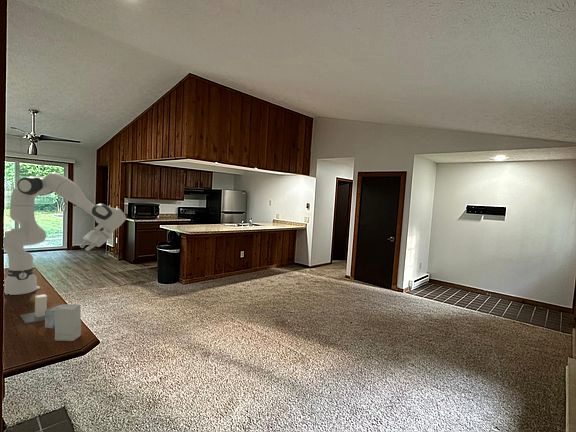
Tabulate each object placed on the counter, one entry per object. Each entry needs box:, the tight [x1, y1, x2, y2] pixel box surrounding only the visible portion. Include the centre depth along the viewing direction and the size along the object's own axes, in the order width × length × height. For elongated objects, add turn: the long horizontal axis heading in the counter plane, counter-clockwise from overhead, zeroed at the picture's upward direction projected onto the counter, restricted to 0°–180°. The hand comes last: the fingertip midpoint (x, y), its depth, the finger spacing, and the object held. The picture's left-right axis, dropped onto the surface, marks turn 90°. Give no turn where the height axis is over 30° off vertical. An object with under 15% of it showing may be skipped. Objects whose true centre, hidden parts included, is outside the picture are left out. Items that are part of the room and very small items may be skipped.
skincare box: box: [54, 303, 82, 342], centre depth 139 cm, size 8×6×15 cm
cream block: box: [34, 294, 48, 317], centre depth 158 cm, size 4×4×10 cm
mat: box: [19, 311, 45, 325], centre depth 158 cm, size 12×14×1 cm
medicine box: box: [44, 304, 61, 329], centre depth 151 cm, size 8×4×9 cm, turn 168°
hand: (83, 248), depth 180 cm, fingers open, 8 cm apart
